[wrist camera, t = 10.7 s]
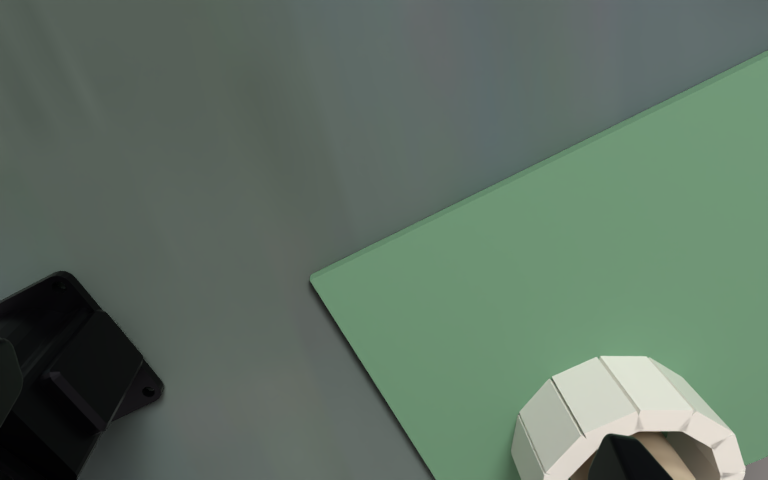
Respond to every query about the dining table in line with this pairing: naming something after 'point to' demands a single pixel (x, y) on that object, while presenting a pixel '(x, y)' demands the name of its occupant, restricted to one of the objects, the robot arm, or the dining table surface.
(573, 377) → the cup
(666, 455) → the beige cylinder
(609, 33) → the dining table surface
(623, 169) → the putting mat
